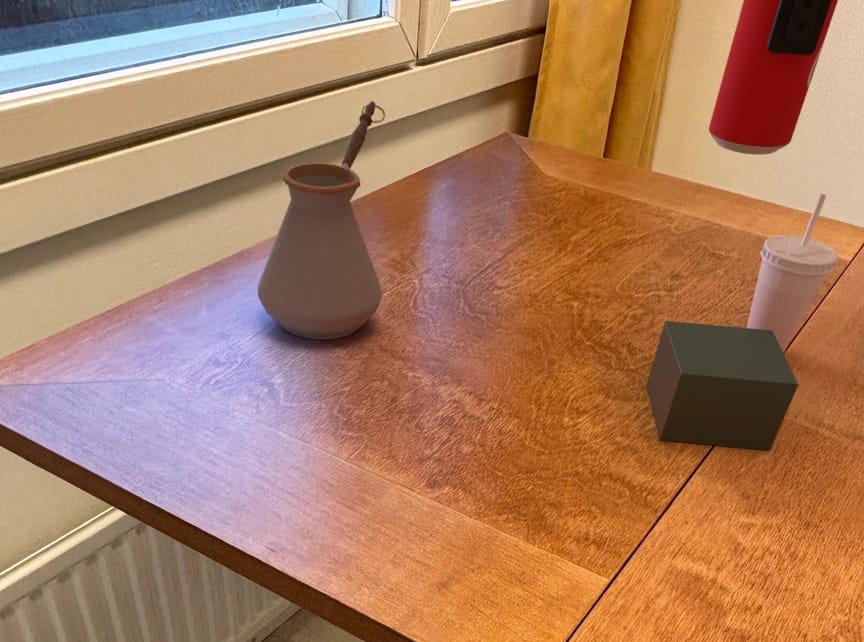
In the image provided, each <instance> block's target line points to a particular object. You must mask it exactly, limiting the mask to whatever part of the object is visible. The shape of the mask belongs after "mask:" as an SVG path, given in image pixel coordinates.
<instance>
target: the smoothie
mask: <svg viewBox="0 0 864 642" xmlns="http://www.w3.org/2000/svg"><path fill="white" fill-rule="evenodd" d="M827 196H828V195H827V194H825V193H820V194H819V195H818V198H817V200H816V203H815V205H814V208H813V211H812V213H811V216H810V218H809V220H808V224H807V227H806V229H805V232H804V235H803V236H799V235H791V234H780V235H774V236H770V237H769V238H766V240H765V241H764V242H763V246H762V248H761V250H760V251H759V254H760V257H761V263H760V268H759V271H758V276H757V281H756V285H755V289H754V294H753V299H752V302H751V307H750V311H749V315H748V319H747V324H746V328H751V329H762V330H772V331H773V333H774V335H775V337H776V339H777V341H778V343H779V345H780V347H781V349H782V351H783V353H785V351H786V350H787V348H788V346H789V344H790V343H791V340H792V339H793V337H794V336H795V333H796V331H797V330H798V328H799V326H800V324H801V322H802V321H803V319H804V317H805V315H806V314H807V312H808V310H809V308H810V307H811V304H812V303H813V301H814V299H815V297H816V295H817V294H818V292H819V290H820V289H821V287H822V285H823V284H824V281H825V279H826V277H827V275H828V274H830V273H832V272H833V271H834V270H835V268H836V264H837V262H838V259H839V254H838V252H837V251H836V250H835V249H834V248H833V247H831V246H830V245H829V244H826V243H824V242H822V241H819V240H816V239H813V238H811V237H812V234H813V232H814V229H815V226H816V224H817V221H818V220H819V216H820V214H821V211H822V208H823V206H824V203H825V202H826V198H827Z"/></svg>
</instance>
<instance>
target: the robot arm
mask: <svg viewBox="0 0 864 642" xmlns="http://www.w3.org/2000/svg"><path fill="white" fill-rule="evenodd" d="M831 1H832V0H780V3H779V6H778V10H777V13H776V16H775V19H774V23H773V26H772V29H771V33H770V36H769V39H768V43H767V48H768V50H769V51H770V52H772V53H784V54H796V55H811V54H812V53H813V52H814V51H815V49H816V46H817V43H818V40H819V37H820V34H821V31H822V28H823V25H824V22H825V19H826V16H827V13H828V10H829V7H830V4H831Z"/></svg>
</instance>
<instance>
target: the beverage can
mask: <svg viewBox="0 0 864 642" xmlns="http://www.w3.org/2000/svg"><path fill="white" fill-rule="evenodd" d="M838 2H839V0H832V1H831V4H830V7H829V10H828V13H827V16H826V19H825V22H824V25H823V28H822V31H821V34H820V37H819V40H818V43H817V46H816V49H815V51H814V52H813V53H812V54H811V55H796V54H784V53H772V52H770V51H769V50H768V48H767V43H768V39H769V36H770V33H771V29H772V26H773V23H774V19H775V16H776V13H777V10H778V6H779V3H780V0H743V1H742V5H741V9H740V13H739V15H738V19H737V23H736V26H735V31H734V34H733V37H732V42H731V45H730V49H729V53H728V56H727V59H726V64H725V67H724V71H723V75H722V77H721V78H722V79H721V82H720V85H719V89H718V93H717V97H716V101H715V105H714V108H713V111H712V114H711V119H710V122H709V126H708V132H709V135H710V136H711V137H712V139H714V142H715V143H716V144H717V145H718V146H719V147H721V148H723V149H726V150H728V151H732V152H735V153H739V154H744V155H758V156H759V155H771V154H774V153H776V152H778V151H779V150H781V149H783V148H785V147H786V146H788V145H789V144H790V143H791V142H792V139H793V136H794V133H795V130H796V127H797V124H798V121H799V118H800V115H801V112H802V109H803V106H804V104H805V100H806V97H807V95H808V91H809V89H810V85H811V82H812V79H813V77H814V73H815V71H816V69H817V68H816V67H817V65H818V61H819V58H820V55H821V53H822V49H823V47H824V44H825V40H826V37H827V34H828V32H829V28H830V26H831V22H832V20H833V16H834V13H835V11H836V8H837V5H838Z"/></svg>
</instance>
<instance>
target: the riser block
mask: <svg viewBox="0 0 864 642" xmlns="http://www.w3.org/2000/svg"><path fill="white" fill-rule="evenodd" d="M784 353H785V352H784ZM784 353H783V351H782V349H781V347H780V345H779V343H778V341H777V339H776V337H775V335H774V333H773V331H772V330H762V329H751V328H747V327H739V326H730V325H729V326H728V325H718V324H717V325H716V324H705V323H693V322H686V321H685V322H683V321H674V320H664V323H663V327H662V329H661V333H660V337H659V341H658V344H657V348H656V351H655V355H654V357H653V361H652V364H651V368H650V371H649V375H648V378H647V381H646V385H645V386H646V389H647V394H648V397H649V401H650V405H651V409H652V413H653V417H654V422H655V425H656V430H657V433H658V437H659V441H661V442H662V441H663V442H673V443H685V444H694V445H695V444H696V445H704V446H705V445H706V446H716V447H728V448H737V449H749V450H760V451H768V452H770V451H771V450H772V447H773V445H774V442H775V441H776V438H777V436H778V433H779V431H780V429H781V426H782V424H783V422H784V419H785V417H786V415H787V413H788V411H789V408H790V405H791V404H792V401H793V398H794V396H795V394H796V392H797V389H798V387H799V383H798V380H797V378H796V376H795V374H794V371H793V370H792V367H791V366H790V364H789V362H788V360H787V358H786V356H785V354H784Z"/></svg>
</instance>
